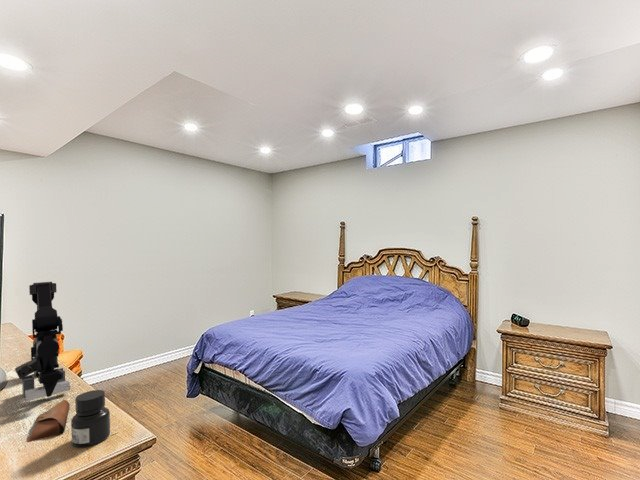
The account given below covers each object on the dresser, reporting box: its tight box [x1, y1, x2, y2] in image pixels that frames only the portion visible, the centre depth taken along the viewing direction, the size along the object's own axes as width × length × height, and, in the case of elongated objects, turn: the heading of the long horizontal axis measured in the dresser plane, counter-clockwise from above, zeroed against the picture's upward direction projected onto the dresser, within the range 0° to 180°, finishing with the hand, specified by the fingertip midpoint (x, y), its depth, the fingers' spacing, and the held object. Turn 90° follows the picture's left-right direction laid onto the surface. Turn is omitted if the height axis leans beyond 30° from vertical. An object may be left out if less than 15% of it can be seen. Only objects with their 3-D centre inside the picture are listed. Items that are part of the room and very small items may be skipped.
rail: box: [24, 379, 71, 402], centre depth 122 cm, size 3×12×3 cm, turn 135°
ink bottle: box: [70, 389, 111, 448], centre depth 96 cm, size 10×9×12 cm
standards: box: [21, 367, 66, 399], centre depth 129 cm, size 5×12×6 cm, turn 135°
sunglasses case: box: [27, 399, 70, 443], centre depth 105 cm, size 18×7×7 cm, turn 32°
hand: (48, 395), depth 122 cm, fingers open, 3 cm apart
